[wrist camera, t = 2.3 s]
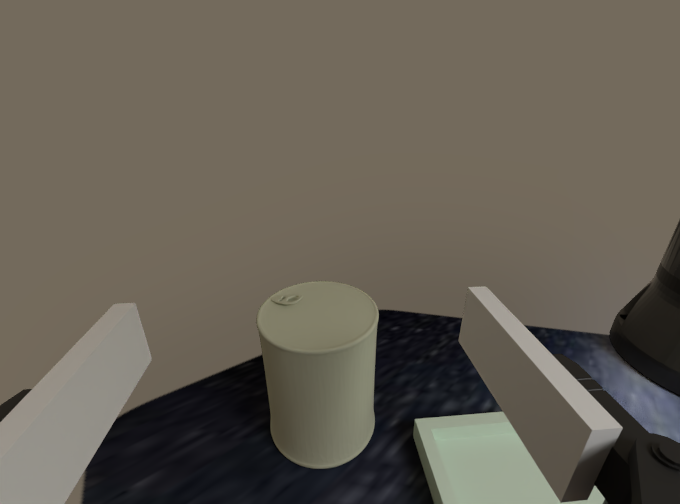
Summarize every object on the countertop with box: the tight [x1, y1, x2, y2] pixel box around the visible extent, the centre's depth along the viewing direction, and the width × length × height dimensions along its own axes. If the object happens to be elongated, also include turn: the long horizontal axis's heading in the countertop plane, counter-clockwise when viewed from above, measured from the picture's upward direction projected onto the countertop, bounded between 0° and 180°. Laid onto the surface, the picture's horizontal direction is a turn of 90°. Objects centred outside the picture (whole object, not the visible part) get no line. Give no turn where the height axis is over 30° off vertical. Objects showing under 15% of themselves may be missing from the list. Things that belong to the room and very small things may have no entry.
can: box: [256, 281, 379, 469], centre depth 28 cm, size 9×9×12 cm
